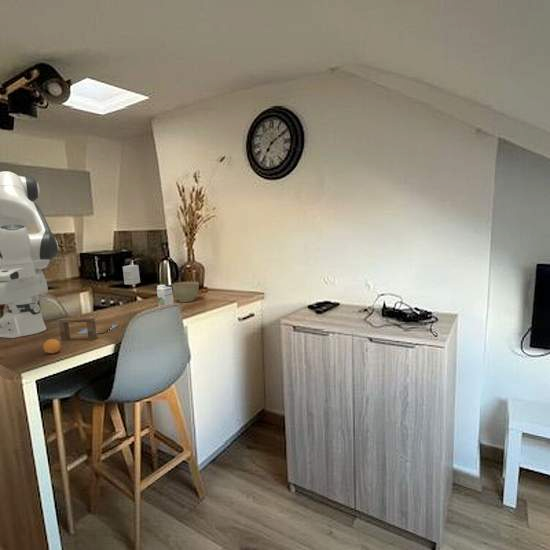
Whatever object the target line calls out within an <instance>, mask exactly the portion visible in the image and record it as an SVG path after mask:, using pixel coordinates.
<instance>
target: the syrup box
mask: <svg viewBox="0 0 550 550" xmlns="http://www.w3.org/2000/svg"><path fill="white" fill-rule="evenodd" d="M156 293H157V302H158V308H159V307H160V306H165V305H169V304H173V305H174V298H173V296H174V295H173V287H172V286H167V285H166V286H163V287H159V288H157V287H156Z"/></svg>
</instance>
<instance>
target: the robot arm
mask: <svg viewBox="0 0 550 550" xmlns="http://www.w3.org/2000/svg"><path fill="white" fill-rule="evenodd" d="M40 189H41V187H40V186H39V183H38V182H37V180H36V179H35V178H34V177H32V176H22V175H18V174H17V173H14V172H12V171H10V170H9V171H7V170H5V171H0V305H5V306H4V307H5V308H4V309H5V310H6V309H7V310H6V313H5V314H4V315H3V316H1V317H0V338H7V339H15V338H16V339H17V338H19V337H20V338H21V337H26V336H30V335H35V334H39V333H42V332H44V331H46V330H47V329H48V328H47V327H46V324H45V321H44V319H43V316H42V312H41V307H42V306H41V301H40V300H39V299H40V296H39V295H43V294H46V293H48V291H49V287H48V284H47V279H46V276H45V275H44V271H43V270H42V269H46V268H47V267H48V266H49V264H50V260H52V259H53V258H55V257H56V255H57V254H58V253H59V244H58V240H57V239H56V237H55V235H54V233H52V230H51V229H50V226H49V225H48V222H47V220H46V218H45V216H44V213H43V211H42V210H41V208H40V206H39V205H38V204H37V203H35V201H36V200H38V199H39V196H40V192H41V190H40ZM29 223H32V224H33V225H34V227H35V229H36V232H37V233H31V231H30V227H29Z"/></svg>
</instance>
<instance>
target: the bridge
mask: <svg viewBox="0 0 550 550" xmlns="http://www.w3.org/2000/svg"><path fill="white" fill-rule="evenodd" d="M69 323H86V329H87V331H88V334H87V339H88V341H95V340H96V338H97V339H98V334H97V332H96V325H97V323H96V318H95V317H93V316H92V317H62V318H59V319H58V326H59V335H60V339H61V340H66V341H68V340H70V339H71V334H70V327H69ZM69 338H70V339H69ZM67 339H68V340H67ZM94 339H95V340H94ZM61 340H60V341H61Z"/></svg>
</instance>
